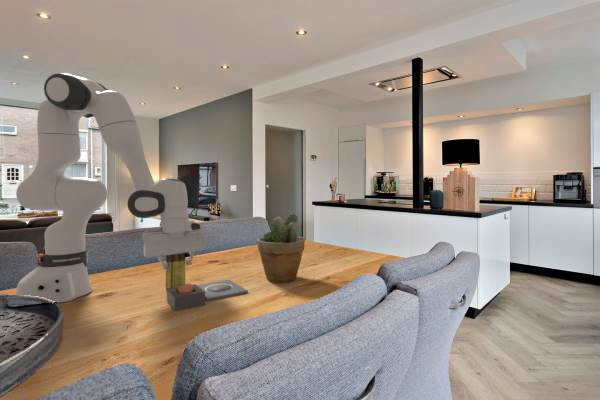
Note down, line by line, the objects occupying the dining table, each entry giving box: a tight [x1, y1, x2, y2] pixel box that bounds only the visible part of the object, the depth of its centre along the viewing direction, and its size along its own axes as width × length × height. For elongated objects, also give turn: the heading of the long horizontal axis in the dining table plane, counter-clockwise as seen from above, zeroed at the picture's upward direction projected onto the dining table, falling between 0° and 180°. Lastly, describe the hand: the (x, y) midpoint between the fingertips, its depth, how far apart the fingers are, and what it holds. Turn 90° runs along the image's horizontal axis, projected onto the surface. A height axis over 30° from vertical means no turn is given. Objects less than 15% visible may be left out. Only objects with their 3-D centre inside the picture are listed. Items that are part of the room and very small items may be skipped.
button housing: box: [166, 284, 206, 311], centre depth 104 cm, size 9×9×4 cm
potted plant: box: [256, 212, 306, 284], centre depth 130 cm, size 18×19×25 cm
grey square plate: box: [196, 279, 249, 302], centre depth 117 cm, size 14×16×1 cm
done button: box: [178, 283, 194, 294], centre depth 104 cm, size 4×4×3 cm
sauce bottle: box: [165, 253, 186, 292], centre depth 116 cm, size 6×6×20 cm
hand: (177, 266), depth 115 cm, fingers open, 6 cm apart
